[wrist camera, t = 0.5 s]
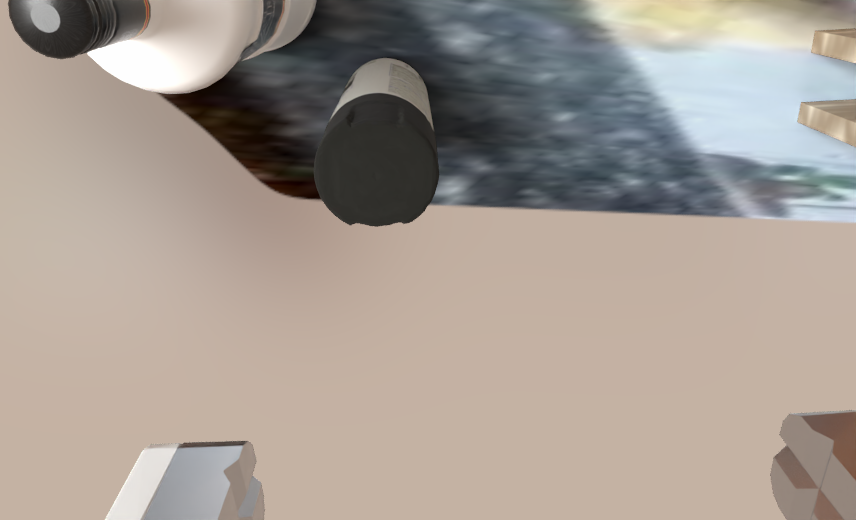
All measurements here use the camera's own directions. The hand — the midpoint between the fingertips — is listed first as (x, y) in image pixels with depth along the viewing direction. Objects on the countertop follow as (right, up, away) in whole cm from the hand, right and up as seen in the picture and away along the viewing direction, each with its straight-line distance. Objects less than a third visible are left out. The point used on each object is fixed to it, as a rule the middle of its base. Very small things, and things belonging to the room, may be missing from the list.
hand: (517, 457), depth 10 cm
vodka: (-14, +24, +37) cm, 46 cm away
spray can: (-5, +16, +41) cm, 44 cm away
